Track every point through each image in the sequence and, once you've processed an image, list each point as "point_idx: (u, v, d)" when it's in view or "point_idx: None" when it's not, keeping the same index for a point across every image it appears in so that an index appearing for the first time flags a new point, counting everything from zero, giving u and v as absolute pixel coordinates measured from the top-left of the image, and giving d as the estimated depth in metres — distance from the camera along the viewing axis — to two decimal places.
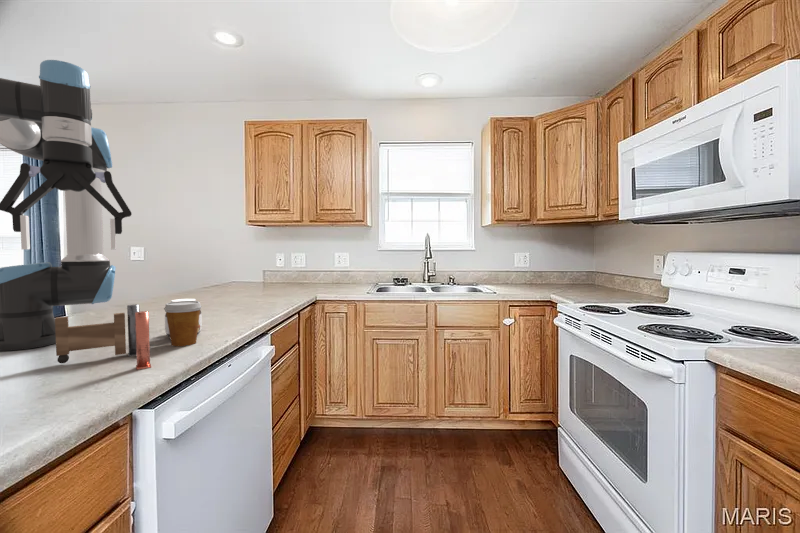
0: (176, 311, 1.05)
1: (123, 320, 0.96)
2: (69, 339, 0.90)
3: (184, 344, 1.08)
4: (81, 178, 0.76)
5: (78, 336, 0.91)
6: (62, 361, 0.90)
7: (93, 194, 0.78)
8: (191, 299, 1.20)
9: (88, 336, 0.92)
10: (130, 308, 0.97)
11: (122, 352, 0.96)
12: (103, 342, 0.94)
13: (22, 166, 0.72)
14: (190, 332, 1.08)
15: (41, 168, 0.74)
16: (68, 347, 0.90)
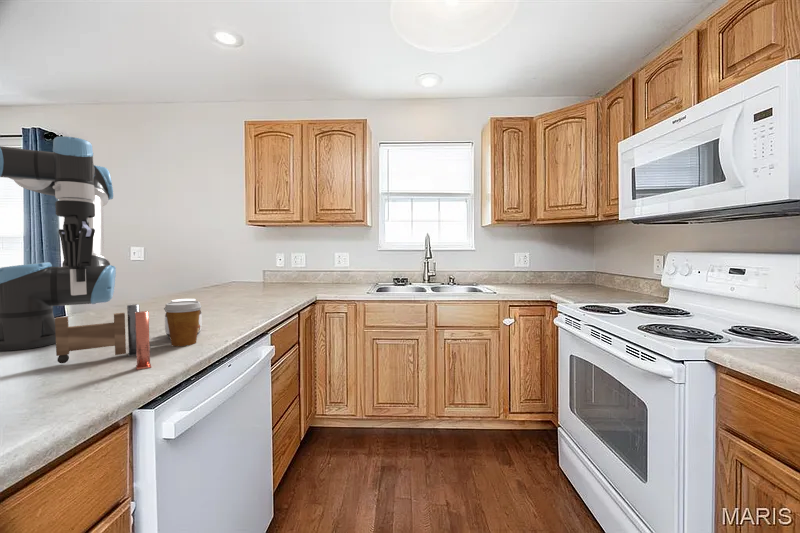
0: (176, 311, 1.05)
1: (123, 320, 0.96)
2: (69, 339, 0.90)
3: (184, 344, 1.08)
4: (70, 229, 0.93)
5: (78, 336, 0.91)
6: (62, 361, 0.90)
7: (73, 243, 0.94)
8: (191, 299, 1.20)
9: (88, 336, 0.92)
10: (130, 308, 0.97)
11: (122, 352, 0.96)
12: (103, 342, 0.94)
13: (59, 232, 0.97)
14: (190, 332, 1.08)
15: None
16: (68, 347, 0.90)
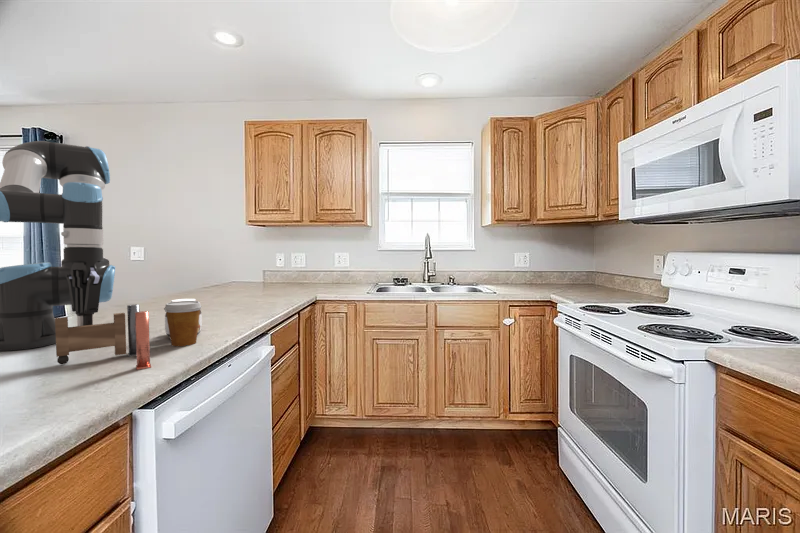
0: (176, 311, 1.05)
1: (123, 320, 0.96)
2: (69, 340, 0.90)
3: (184, 344, 1.08)
4: (78, 276, 0.92)
5: (78, 336, 0.91)
6: (62, 362, 0.89)
7: (80, 290, 0.93)
8: (191, 299, 1.20)
9: (88, 336, 0.92)
10: (130, 308, 0.97)
11: (122, 352, 0.96)
12: (103, 342, 0.94)
13: (66, 277, 0.96)
14: (190, 332, 1.08)
15: None
16: (68, 348, 0.89)
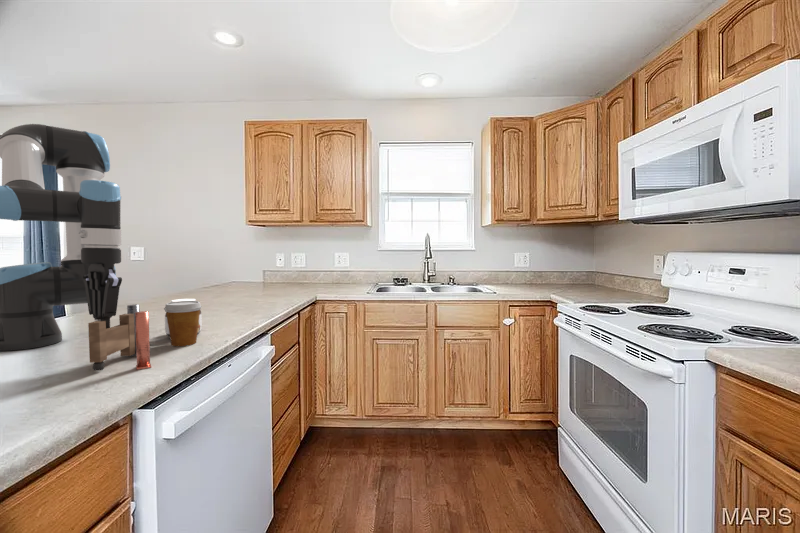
0: (176, 311, 1.05)
1: (133, 320, 0.96)
2: (106, 343, 0.86)
3: (184, 344, 1.08)
4: (95, 278, 0.88)
5: (111, 339, 0.88)
6: (101, 368, 0.85)
7: (98, 292, 0.89)
8: (191, 299, 1.20)
9: (116, 338, 0.90)
10: (130, 308, 0.97)
11: (133, 352, 0.96)
12: (123, 344, 0.93)
13: (83, 278, 0.92)
14: (190, 332, 1.08)
15: None
16: (106, 352, 0.86)
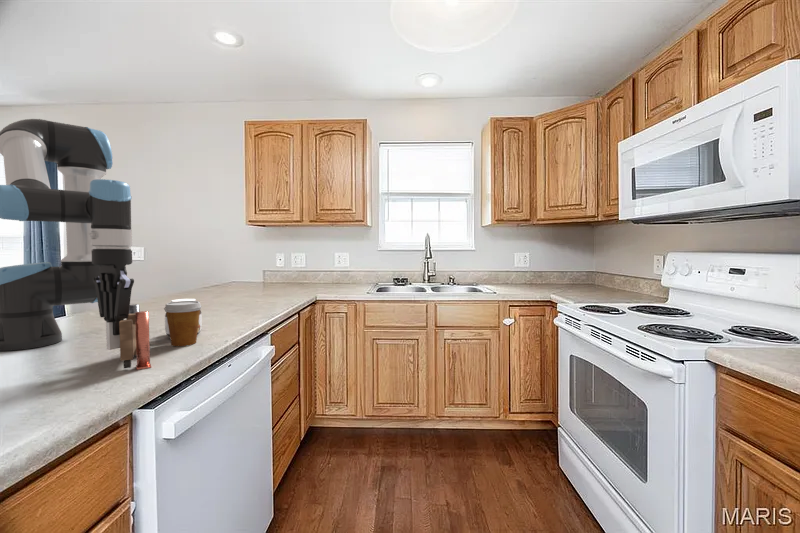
0: (176, 311, 1.05)
1: None
2: None
3: (184, 344, 1.08)
4: (107, 280, 0.86)
5: (133, 338, 0.90)
6: (130, 365, 0.87)
7: (109, 294, 0.87)
8: (191, 299, 1.20)
9: (134, 337, 0.91)
10: (130, 308, 0.97)
11: None
12: None
13: (93, 280, 0.90)
14: (190, 332, 1.08)
15: None
16: (133, 350, 0.88)
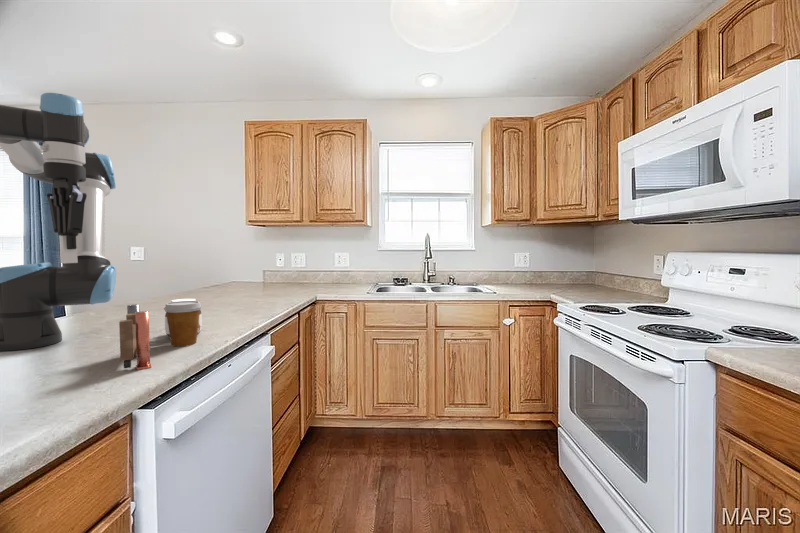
0: (176, 311, 1.05)
1: None
2: None
3: (184, 344, 1.08)
4: (59, 193, 0.88)
5: (133, 338, 0.90)
6: (130, 365, 0.87)
7: (62, 208, 0.89)
8: (191, 299, 1.20)
9: (134, 337, 0.91)
10: (130, 308, 0.97)
11: None
12: None
13: (47, 196, 0.92)
14: (190, 332, 1.08)
15: None
16: (133, 350, 0.88)
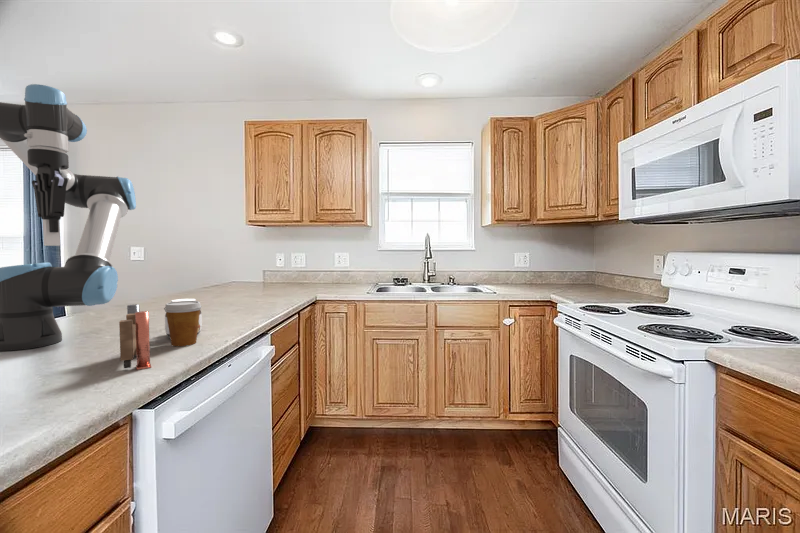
0: (175, 311, 1.05)
1: None
2: None
3: (184, 344, 1.08)
4: (42, 178, 0.93)
5: (133, 338, 0.90)
6: (130, 365, 0.87)
7: (45, 193, 0.94)
8: (191, 299, 1.20)
9: (134, 337, 0.91)
10: (130, 308, 0.97)
11: None
12: None
13: (32, 183, 0.97)
14: (190, 332, 1.08)
15: None
16: (133, 350, 0.88)
